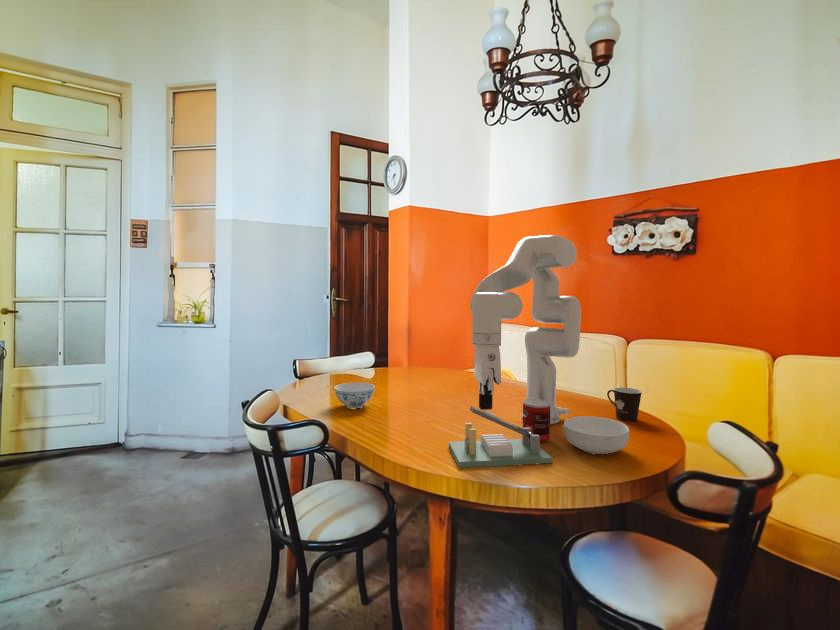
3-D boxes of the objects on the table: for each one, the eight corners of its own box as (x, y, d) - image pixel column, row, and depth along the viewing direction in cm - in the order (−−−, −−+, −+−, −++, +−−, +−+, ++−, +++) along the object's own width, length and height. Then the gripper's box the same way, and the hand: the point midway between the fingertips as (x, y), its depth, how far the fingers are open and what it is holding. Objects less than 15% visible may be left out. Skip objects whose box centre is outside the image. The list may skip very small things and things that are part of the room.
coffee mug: (645, 422, 138) (646, 393, 138) (620, 422, 138) (621, 393, 138) (628, 412, 150) (629, 385, 150) (604, 412, 150) (605, 385, 150)
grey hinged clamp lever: (529, 436, 113) (532, 430, 113) (534, 441, 109) (537, 435, 109) (468, 409, 111) (471, 403, 111) (472, 414, 107) (475, 407, 107)
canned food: (528, 432, 129) (529, 397, 128) (553, 438, 123) (554, 401, 123) (517, 439, 123) (518, 402, 122) (543, 445, 118) (544, 407, 117)
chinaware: (339, 401, 164) (339, 382, 164) (377, 401, 164) (377, 382, 163) (330, 412, 149) (330, 391, 149) (371, 412, 149) (371, 391, 148)
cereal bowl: (564, 436, 125) (565, 413, 125) (625, 443, 119) (626, 419, 119) (562, 456, 110) (562, 430, 109) (632, 466, 104) (633, 438, 103)
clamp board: (531, 443, 119) (531, 416, 118) (552, 463, 105) (552, 432, 104) (448, 446, 116) (449, 418, 116) (459, 467, 102) (459, 436, 102)
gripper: (509, 342, 101) (508, 416, 102) (492, 336, 116) (491, 401, 117) (479, 343, 101) (478, 417, 101) (466, 336, 115) (465, 401, 116)
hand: (485, 408), depth 109 cm, fingers closed
